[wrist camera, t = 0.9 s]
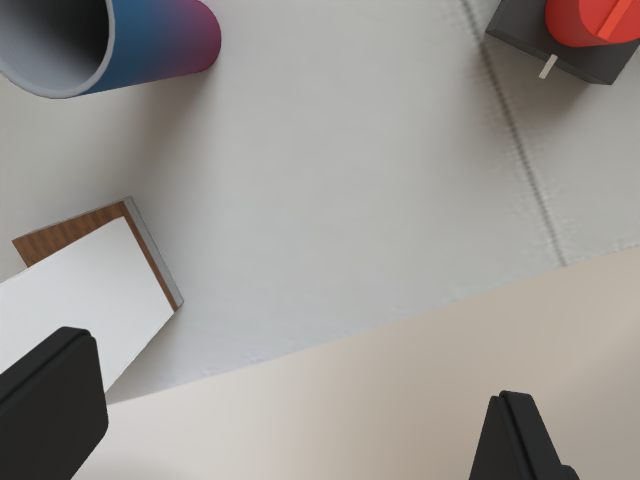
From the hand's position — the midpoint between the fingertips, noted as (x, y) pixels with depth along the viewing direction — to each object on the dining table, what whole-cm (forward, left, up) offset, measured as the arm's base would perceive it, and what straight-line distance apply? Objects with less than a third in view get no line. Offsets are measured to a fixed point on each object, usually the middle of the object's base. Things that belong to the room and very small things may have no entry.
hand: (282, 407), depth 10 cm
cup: (-13, -9, -26) cm, 30 cm away
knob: (-6, +16, -23) cm, 28 cm away
